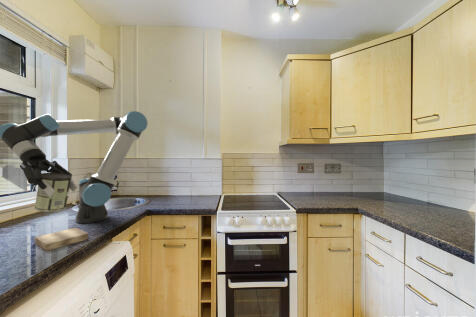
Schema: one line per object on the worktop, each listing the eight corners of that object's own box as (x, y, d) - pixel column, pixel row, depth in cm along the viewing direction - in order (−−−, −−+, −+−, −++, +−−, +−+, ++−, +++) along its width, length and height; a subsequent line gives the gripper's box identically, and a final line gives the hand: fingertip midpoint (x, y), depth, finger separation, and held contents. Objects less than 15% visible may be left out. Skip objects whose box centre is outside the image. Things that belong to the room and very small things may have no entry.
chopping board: (75, 233, 99) (75, 227, 99) (88, 239, 92) (88, 233, 92) (35, 243, 88) (35, 237, 88) (45, 251, 81) (45, 244, 81)
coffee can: (48, 202, 95) (54, 171, 95) (71, 207, 96) (77, 176, 95) (26, 208, 85) (32, 174, 84) (52, 213, 85) (59, 179, 85)
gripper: (50, 159, 102) (81, 193, 101) (-9, 160, 80) (30, 203, 79) (60, 148, 102) (91, 182, 100) (4, 146, 79) (43, 189, 78)
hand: (64, 191), depth 89 cm, fingers closed on coffee can, 10 cm apart
